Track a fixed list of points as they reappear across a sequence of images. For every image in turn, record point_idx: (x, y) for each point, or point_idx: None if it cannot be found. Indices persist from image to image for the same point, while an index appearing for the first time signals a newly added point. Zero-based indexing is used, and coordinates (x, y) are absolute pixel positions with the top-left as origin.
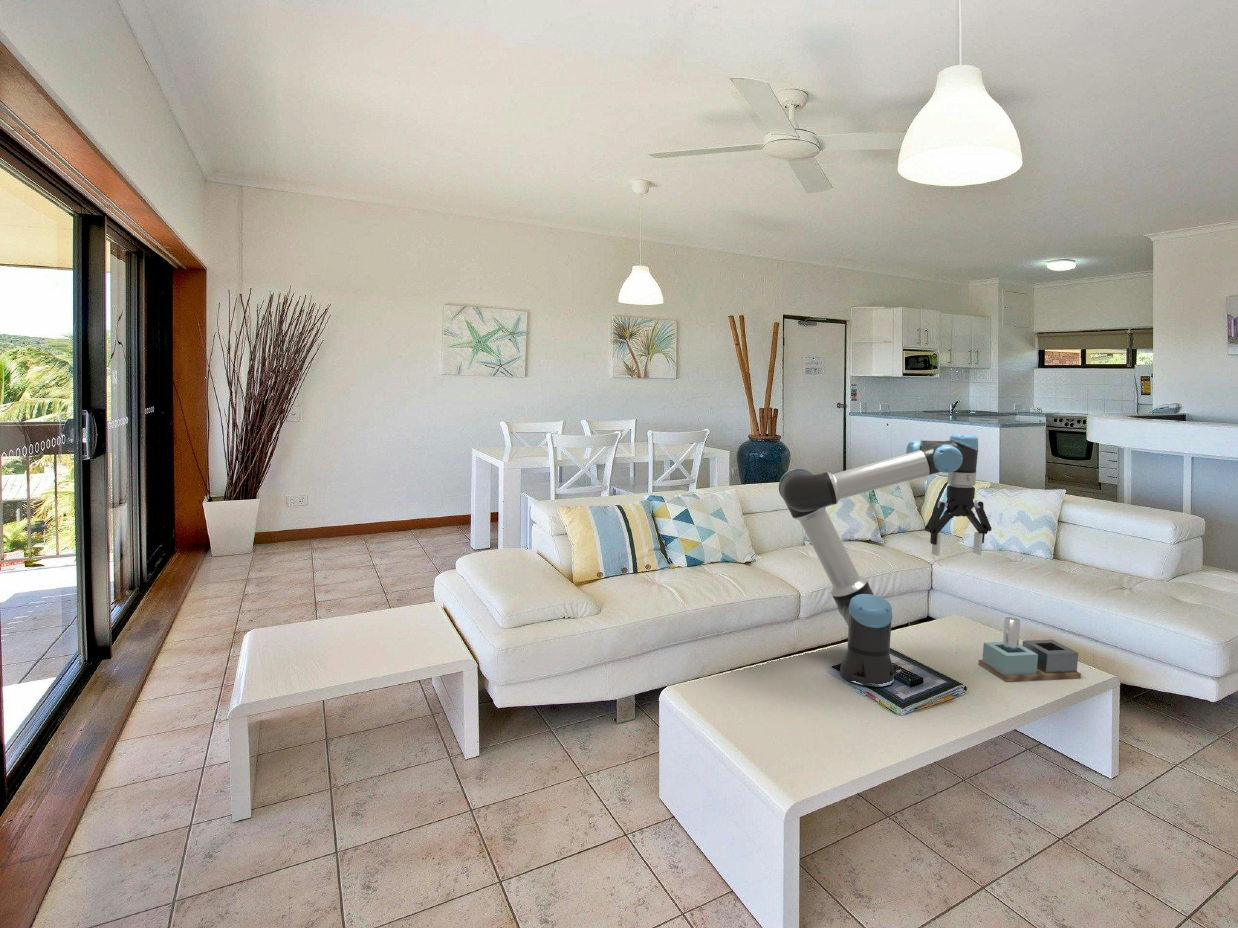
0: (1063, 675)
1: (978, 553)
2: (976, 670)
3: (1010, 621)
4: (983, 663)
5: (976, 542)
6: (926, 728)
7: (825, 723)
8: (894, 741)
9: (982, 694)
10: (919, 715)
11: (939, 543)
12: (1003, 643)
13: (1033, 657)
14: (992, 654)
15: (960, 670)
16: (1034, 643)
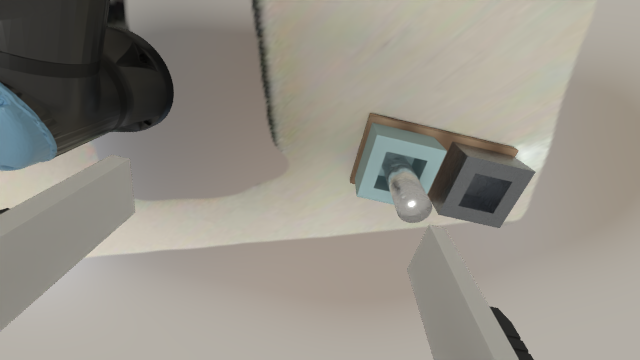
0: None
1: (410, 271)
2: (345, 129)
3: (397, 213)
4: (366, 129)
5: (445, 312)
6: (142, 229)
7: (12, 182)
8: None
9: (280, 193)
10: (150, 206)
11: (56, 274)
12: (389, 173)
13: None
14: (366, 156)
15: (316, 119)
16: (474, 173)
